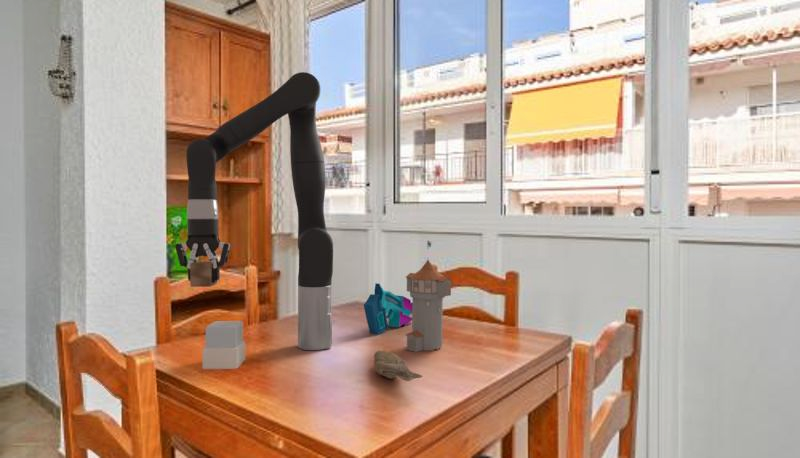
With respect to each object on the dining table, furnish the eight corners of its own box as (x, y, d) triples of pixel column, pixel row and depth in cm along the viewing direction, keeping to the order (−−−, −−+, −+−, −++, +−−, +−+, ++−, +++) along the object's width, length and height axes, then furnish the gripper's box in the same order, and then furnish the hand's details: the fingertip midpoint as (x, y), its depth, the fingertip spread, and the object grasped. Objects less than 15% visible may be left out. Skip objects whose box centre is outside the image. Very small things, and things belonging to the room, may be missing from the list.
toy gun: (408, 346, 168) (418, 303, 173) (367, 330, 148) (379, 282, 153) (398, 344, 171) (407, 302, 175) (356, 328, 151) (368, 280, 155)
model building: (457, 347, 140) (459, 240, 139) (430, 356, 131) (432, 242, 130) (420, 339, 149) (421, 238, 148) (392, 346, 141) (393, 240, 140)
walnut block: (216, 283, 133) (216, 261, 132) (210, 286, 128) (210, 263, 127) (197, 284, 132) (197, 261, 132) (190, 286, 127) (190, 263, 127)
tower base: (245, 359, 127) (245, 340, 127) (236, 369, 119) (236, 348, 119) (213, 360, 126) (213, 340, 126) (202, 369, 118) (202, 348, 118)
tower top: (242, 340, 126) (242, 321, 126) (235, 348, 119) (235, 327, 119) (214, 341, 126) (214, 321, 126) (205, 348, 119) (205, 327, 119)
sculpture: (401, 401, 99) (401, 376, 99) (362, 366, 122) (362, 345, 122) (429, 397, 101) (429, 373, 101) (386, 363, 124) (386, 343, 124)
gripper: (235, 217, 133) (235, 280, 134) (180, 217, 133) (181, 280, 133) (226, 217, 126) (227, 284, 126) (168, 217, 125) (169, 284, 126)
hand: (203, 282), depth 130 cm, fingers closed on walnut block, 5 cm apart
